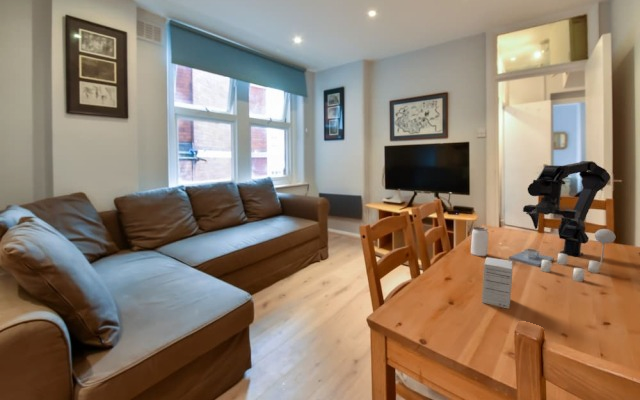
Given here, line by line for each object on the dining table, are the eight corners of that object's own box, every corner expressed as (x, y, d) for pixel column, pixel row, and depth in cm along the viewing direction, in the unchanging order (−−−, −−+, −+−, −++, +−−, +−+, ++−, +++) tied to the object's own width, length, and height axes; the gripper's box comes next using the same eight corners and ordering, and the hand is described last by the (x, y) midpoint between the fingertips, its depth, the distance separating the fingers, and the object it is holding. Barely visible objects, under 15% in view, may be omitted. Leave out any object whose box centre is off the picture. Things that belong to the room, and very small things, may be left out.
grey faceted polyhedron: (528, 254, 128) (529, 248, 128) (540, 257, 125) (540, 250, 124) (522, 256, 126) (522, 250, 125) (534, 259, 122) (534, 253, 122)
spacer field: (559, 261, 122) (560, 252, 122) (600, 272, 111) (601, 262, 110) (539, 270, 114) (540, 260, 113) (581, 282, 103) (582, 271, 102)
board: (525, 253, 133) (525, 250, 133) (553, 260, 124) (554, 257, 124) (508, 258, 127) (509, 256, 126) (537, 266, 117) (538, 264, 117)
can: (489, 257, 129) (490, 230, 127) (473, 256, 131) (474, 230, 129) (483, 252, 136) (485, 227, 134) (468, 251, 137) (470, 226, 135)
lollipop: (607, 263, 119) (612, 228, 117) (614, 268, 114) (619, 231, 112) (588, 261, 122) (592, 226, 120) (593, 266, 117) (598, 230, 114)
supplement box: (483, 293, 96) (486, 256, 94) (510, 299, 92) (513, 260, 90) (480, 302, 90) (483, 263, 88) (509, 309, 86) (513, 268, 84)
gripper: (518, 194, 127) (515, 228, 130) (570, 199, 111) (566, 238, 114) (530, 192, 133) (527, 225, 135) (582, 197, 117) (578, 234, 119)
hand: (548, 230), depth 126 cm, fingers open, 9 cm apart
